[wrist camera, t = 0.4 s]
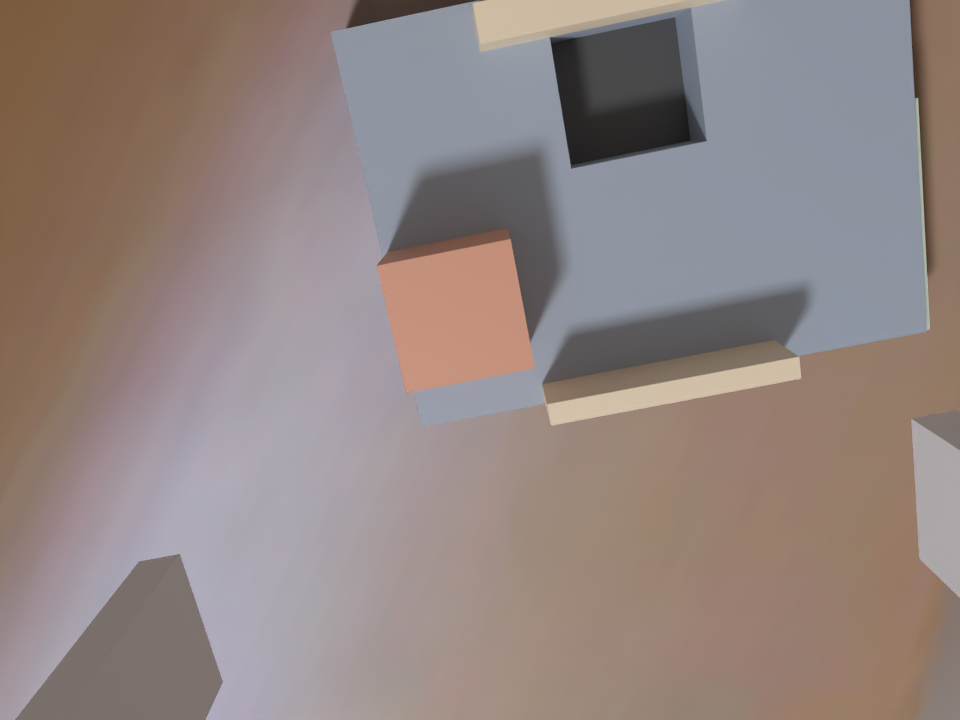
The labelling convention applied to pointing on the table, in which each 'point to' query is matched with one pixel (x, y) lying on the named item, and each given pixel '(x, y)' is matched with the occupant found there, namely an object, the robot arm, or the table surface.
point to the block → (456, 310)
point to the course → (654, 184)
